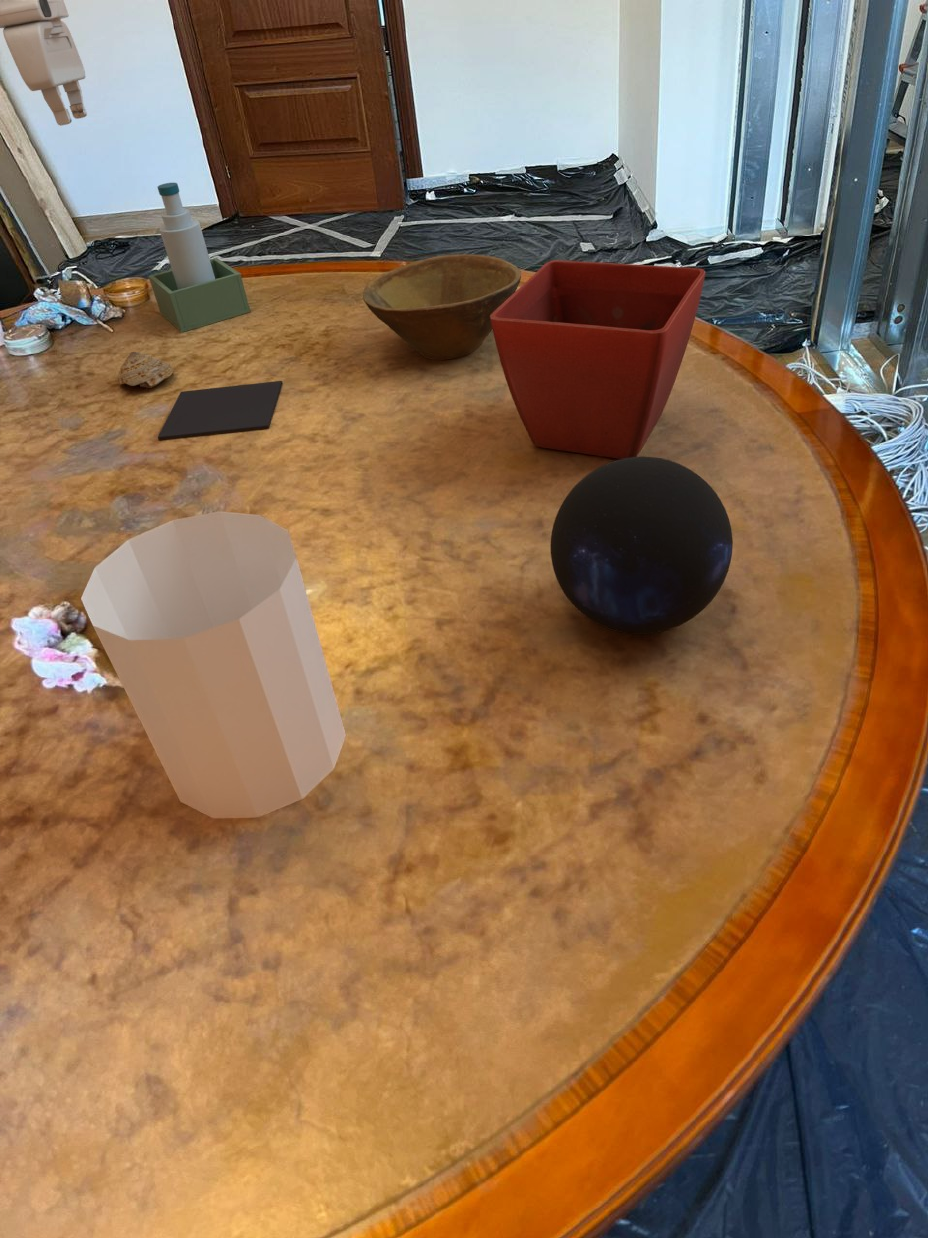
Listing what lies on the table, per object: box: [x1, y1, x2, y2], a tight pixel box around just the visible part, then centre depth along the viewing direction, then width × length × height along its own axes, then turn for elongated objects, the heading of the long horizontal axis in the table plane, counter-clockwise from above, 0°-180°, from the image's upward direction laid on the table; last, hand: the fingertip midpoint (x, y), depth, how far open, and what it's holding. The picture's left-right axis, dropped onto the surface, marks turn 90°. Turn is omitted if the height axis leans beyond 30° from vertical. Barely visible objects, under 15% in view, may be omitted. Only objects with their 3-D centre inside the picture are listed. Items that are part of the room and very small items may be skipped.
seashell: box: [117, 351, 175, 389], centre depth 129 cm, size 8×6×8 cm
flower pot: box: [490, 259, 706, 460], centre depth 99 cm, size 19×19×17 cm
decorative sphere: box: [550, 456, 734, 635], centre depth 73 cm, size 15×15×15 cm
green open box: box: [148, 257, 252, 333], centre depth 149 cm, size 13×13×7 cm
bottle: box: [156, 182, 215, 290], centre depth 144 cm, size 7×7×20 cm
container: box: [80, 510, 347, 819], centre depth 64 cm, size 14×14×18 cm
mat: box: [157, 380, 283, 441], centre depth 119 cm, size 15×14×1 cm
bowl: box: [362, 253, 522, 361], centre depth 126 cm, size 22×23×10 cm
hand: (73, 120), depth 127 cm, fingers open, 8 cm apart
